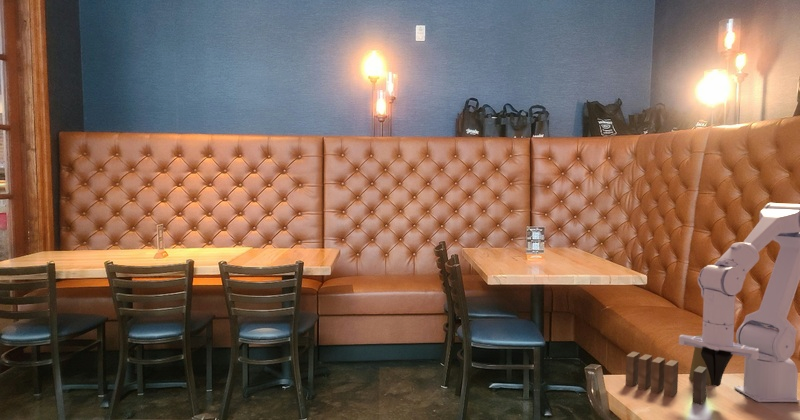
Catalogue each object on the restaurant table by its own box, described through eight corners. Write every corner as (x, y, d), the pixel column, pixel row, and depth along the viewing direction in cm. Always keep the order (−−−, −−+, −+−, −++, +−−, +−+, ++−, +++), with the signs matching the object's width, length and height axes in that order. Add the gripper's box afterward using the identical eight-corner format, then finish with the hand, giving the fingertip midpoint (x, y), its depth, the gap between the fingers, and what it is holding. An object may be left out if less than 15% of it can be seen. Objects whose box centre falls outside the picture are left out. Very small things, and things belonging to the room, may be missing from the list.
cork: (722, 386, 122) (723, 340, 121) (693, 384, 123) (695, 338, 122) (712, 377, 128) (713, 333, 127) (685, 375, 129) (686, 331, 128)
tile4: (651, 384, 122) (652, 355, 122) (645, 390, 119) (646, 360, 119) (644, 383, 123) (645, 354, 123) (637, 388, 120) (638, 358, 120)
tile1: (706, 398, 114) (707, 367, 114) (700, 404, 111) (701, 372, 111) (697, 396, 115) (699, 366, 115) (692, 402, 112) (693, 370, 112)
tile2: (677, 391, 118) (678, 361, 118) (671, 397, 115) (672, 366, 115) (669, 389, 120) (670, 359, 119) (663, 394, 116) (664, 364, 116)
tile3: (664, 388, 120) (665, 358, 120) (658, 393, 117) (659, 363, 117) (656, 386, 121) (657, 356, 121) (650, 391, 118) (651, 361, 118)
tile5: (639, 381, 124) (640, 352, 124) (632, 386, 121) (633, 357, 121) (632, 379, 125) (633, 351, 125) (625, 384, 122) (626, 355, 122)
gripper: (675, 318, 113) (673, 380, 113) (755, 332, 103) (752, 399, 103) (684, 313, 118) (682, 372, 118) (761, 325, 108) (759, 389, 108)
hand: (715, 384), depth 111 cm, fingers closed
